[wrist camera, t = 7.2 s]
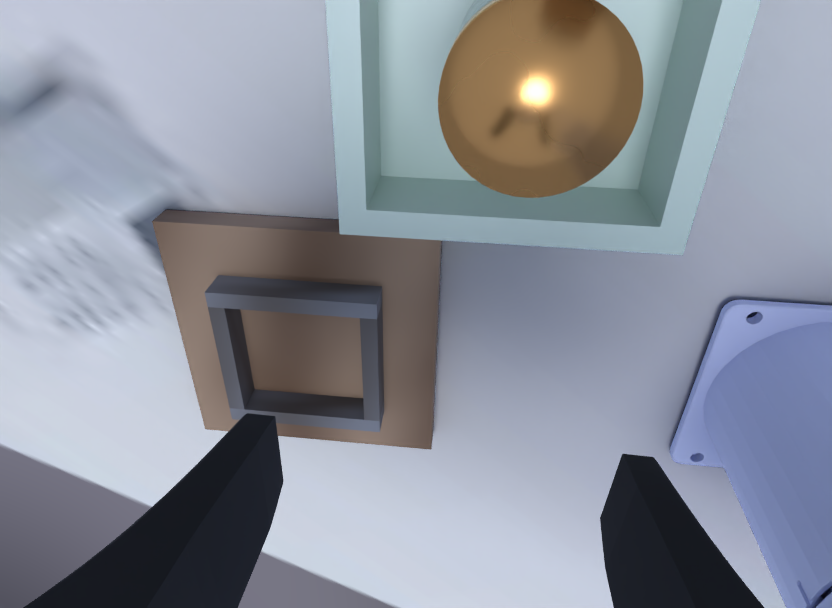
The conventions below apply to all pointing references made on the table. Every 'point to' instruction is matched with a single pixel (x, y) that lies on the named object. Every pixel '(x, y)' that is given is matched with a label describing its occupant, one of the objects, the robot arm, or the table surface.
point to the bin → (517, 216)
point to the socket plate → (306, 324)
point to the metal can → (539, 94)
